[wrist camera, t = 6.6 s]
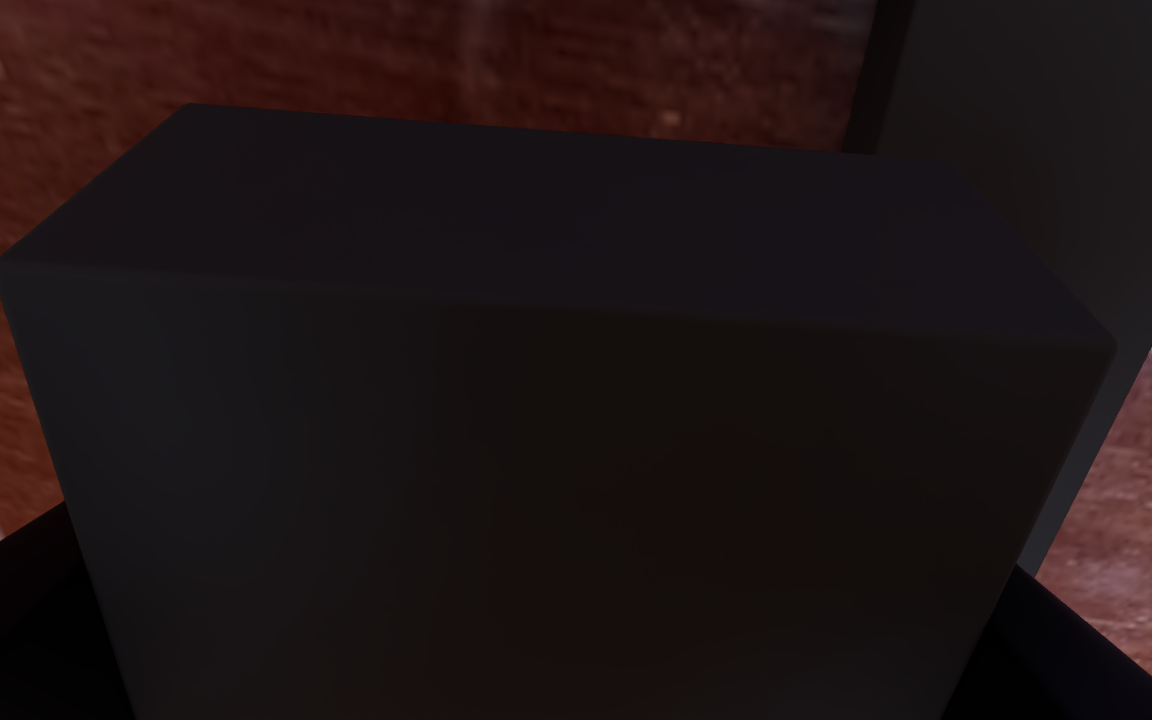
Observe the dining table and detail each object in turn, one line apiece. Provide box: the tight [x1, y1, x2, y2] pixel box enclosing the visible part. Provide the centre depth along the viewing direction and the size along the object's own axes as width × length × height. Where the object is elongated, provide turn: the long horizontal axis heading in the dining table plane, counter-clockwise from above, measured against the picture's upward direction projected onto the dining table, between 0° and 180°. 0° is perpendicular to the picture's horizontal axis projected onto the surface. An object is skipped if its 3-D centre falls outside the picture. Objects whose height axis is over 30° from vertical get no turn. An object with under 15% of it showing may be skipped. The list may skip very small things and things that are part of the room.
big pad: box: [841, 0, 1152, 578], centre depth 14 cm, size 13×14×2 cm
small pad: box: [0, 103, 1118, 720], centre depth 8 cm, size 7×7×3 cm
